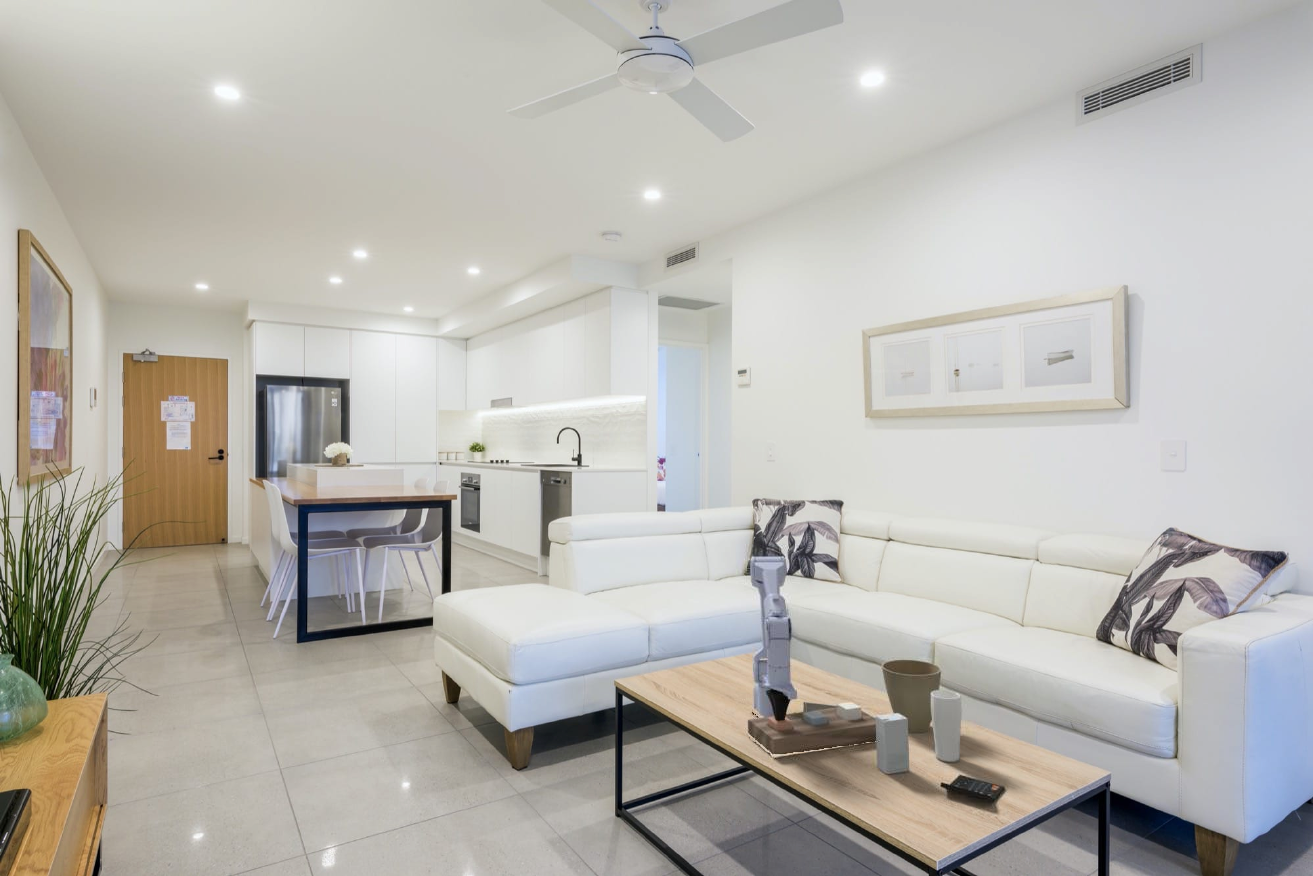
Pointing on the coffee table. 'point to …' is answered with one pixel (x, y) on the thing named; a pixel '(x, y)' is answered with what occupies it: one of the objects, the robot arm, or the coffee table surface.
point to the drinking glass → (946, 724)
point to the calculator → (975, 788)
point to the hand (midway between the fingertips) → (779, 719)
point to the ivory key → (848, 711)
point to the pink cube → (779, 724)
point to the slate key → (814, 718)
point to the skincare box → (892, 743)
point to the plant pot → (912, 690)
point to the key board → (813, 732)
